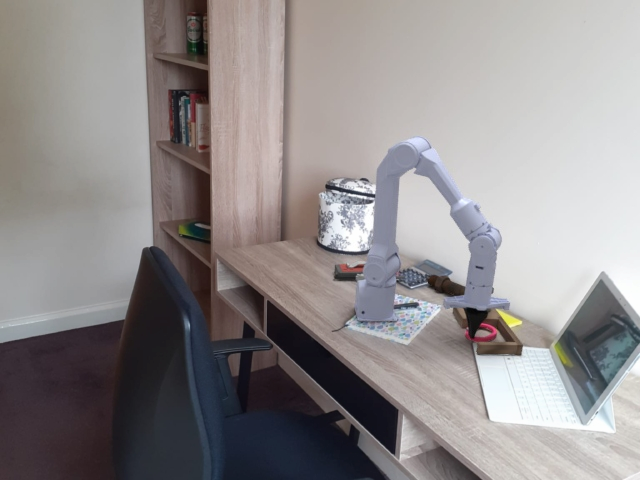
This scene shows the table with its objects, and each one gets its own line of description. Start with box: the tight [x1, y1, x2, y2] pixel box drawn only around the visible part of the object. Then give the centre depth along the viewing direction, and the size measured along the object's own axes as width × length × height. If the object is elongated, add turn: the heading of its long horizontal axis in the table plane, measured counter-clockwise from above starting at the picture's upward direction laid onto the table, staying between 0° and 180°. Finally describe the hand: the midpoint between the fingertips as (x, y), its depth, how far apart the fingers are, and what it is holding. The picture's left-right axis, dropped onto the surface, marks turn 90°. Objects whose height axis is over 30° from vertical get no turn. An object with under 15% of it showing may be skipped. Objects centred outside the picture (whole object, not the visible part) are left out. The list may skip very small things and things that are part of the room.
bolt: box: [426, 274, 466, 297], centre depth 158 cm, size 6×5×15 cm
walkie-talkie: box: [333, 260, 406, 282], centre depth 167 cm, size 9×4×20 cm
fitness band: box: [465, 323, 498, 343], centre depth 137 cm, size 8×6×2 cm
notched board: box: [452, 308, 524, 356], centre depth 139 cm, size 10×20×2 cm, turn 4°
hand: (471, 336), depth 135 cm, fingers closed, pressing on fitness band
